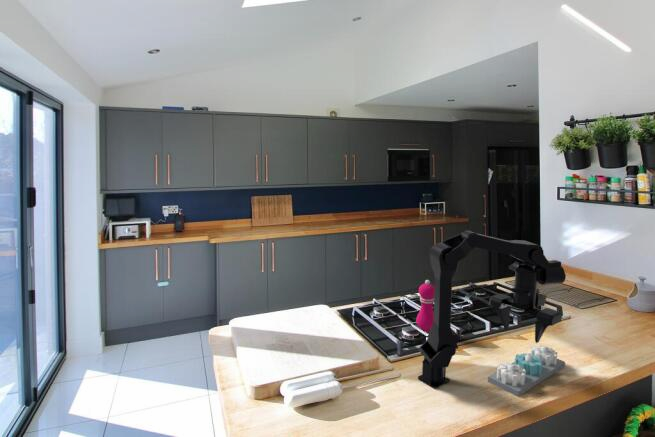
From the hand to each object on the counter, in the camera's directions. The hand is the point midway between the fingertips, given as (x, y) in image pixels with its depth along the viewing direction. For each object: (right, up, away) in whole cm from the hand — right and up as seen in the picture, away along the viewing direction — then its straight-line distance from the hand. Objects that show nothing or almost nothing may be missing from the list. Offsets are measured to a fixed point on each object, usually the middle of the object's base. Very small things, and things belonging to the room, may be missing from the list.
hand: (521, 336), depth 117 cm
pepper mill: (-21, -7, +28) cm, 36 cm away
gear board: (+2, -11, +1) cm, 11 cm away
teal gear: (+2, -10, +1) cm, 10 cm away
